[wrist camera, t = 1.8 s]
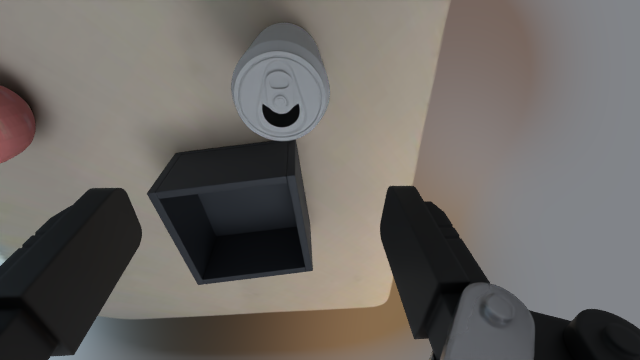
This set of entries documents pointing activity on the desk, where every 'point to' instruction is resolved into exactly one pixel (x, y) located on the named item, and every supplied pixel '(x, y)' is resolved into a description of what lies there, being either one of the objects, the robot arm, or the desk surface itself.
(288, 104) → the beverage can
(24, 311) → the robot arm
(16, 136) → the apple
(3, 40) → the desk surface
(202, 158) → the bin
